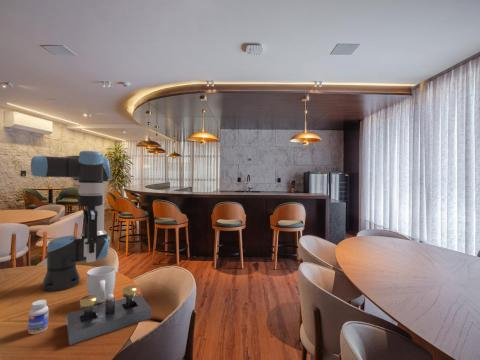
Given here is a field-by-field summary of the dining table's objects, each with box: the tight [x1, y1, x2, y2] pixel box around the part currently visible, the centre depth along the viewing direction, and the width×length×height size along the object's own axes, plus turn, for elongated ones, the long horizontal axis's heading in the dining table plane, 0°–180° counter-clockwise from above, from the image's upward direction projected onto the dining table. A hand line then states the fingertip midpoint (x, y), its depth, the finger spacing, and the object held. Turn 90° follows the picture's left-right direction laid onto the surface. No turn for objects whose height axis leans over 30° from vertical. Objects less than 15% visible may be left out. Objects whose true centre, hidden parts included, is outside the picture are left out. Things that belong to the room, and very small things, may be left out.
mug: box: [86, 265, 116, 304], centre depth 107 cm, size 15×11×13 cm
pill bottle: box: [27, 299, 49, 335], centre depth 86 cm, size 5×5×10 cm
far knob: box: [122, 285, 138, 306], centre depth 97 cm, size 5×5×6 cm
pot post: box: [104, 293, 116, 313], centre depth 92 cm, size 3×3×6 cm
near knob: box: [79, 295, 98, 318], centre depth 88 cm, size 5×5×6 cm
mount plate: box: [66, 294, 152, 347], centre depth 92 cm, size 14×26×4 cm, turn 128°
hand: (89, 258), depth 88 cm, fingers open, 7 cm apart
